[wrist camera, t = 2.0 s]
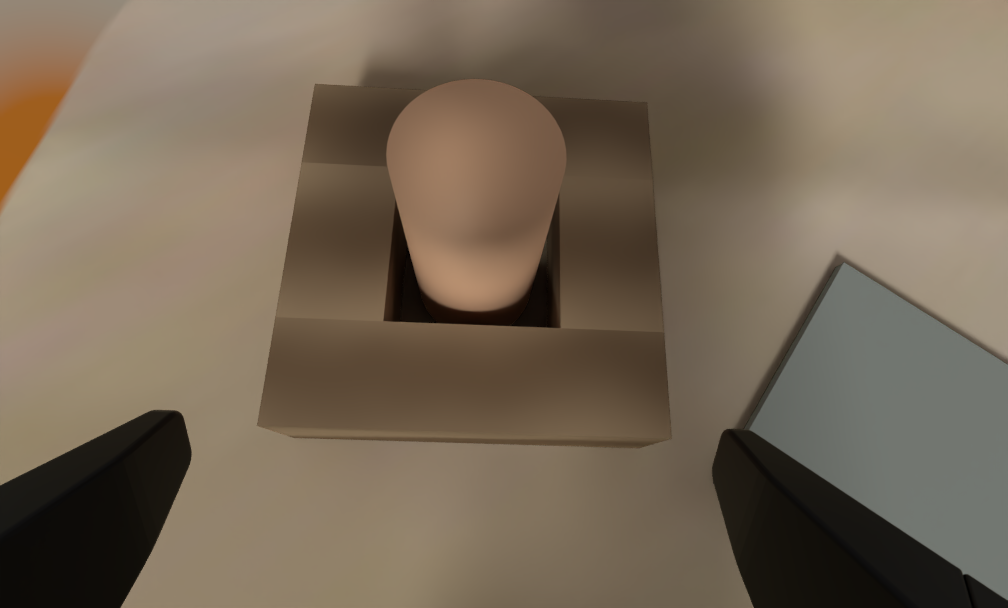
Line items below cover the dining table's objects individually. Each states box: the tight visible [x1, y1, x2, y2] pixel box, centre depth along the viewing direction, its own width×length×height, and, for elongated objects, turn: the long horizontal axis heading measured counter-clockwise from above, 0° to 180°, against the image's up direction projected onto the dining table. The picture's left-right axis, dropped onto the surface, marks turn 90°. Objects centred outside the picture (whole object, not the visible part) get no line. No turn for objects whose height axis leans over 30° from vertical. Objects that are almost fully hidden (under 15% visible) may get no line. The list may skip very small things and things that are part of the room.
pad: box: [713, 262, 1008, 600], centre depth 23 cm, size 12×12×1 cm
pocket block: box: [257, 84, 672, 448], centre depth 23 cm, size 14×14×4 cm
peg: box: [386, 79, 567, 326], centre depth 20 cm, size 5×5×10 cm
